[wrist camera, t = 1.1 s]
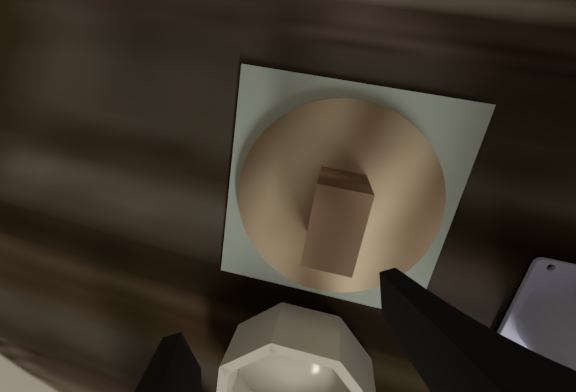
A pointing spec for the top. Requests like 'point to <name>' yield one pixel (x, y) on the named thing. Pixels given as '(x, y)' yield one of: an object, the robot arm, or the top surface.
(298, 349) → the bowl
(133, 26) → the top surface
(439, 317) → the robot arm
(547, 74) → the top surface
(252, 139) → the mat
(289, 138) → the lid
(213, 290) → the top surface
